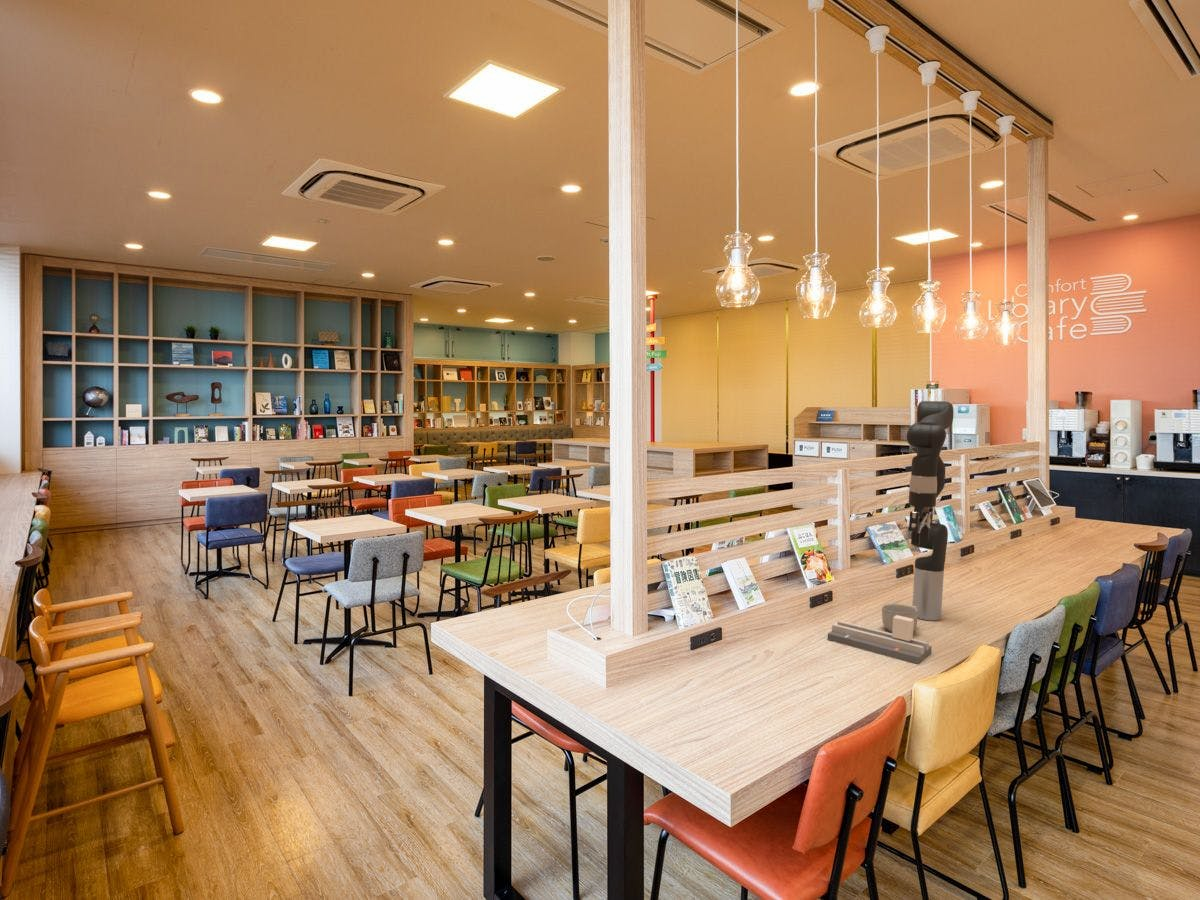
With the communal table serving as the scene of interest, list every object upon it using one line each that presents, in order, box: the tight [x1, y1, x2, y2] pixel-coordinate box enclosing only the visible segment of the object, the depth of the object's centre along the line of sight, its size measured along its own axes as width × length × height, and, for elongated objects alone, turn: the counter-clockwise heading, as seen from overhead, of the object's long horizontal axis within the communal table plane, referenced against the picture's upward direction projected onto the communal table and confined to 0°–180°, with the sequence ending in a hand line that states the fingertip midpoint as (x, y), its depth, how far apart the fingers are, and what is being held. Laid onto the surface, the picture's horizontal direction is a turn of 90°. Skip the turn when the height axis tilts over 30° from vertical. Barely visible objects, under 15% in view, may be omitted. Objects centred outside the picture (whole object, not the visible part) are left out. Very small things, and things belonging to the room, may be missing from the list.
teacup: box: [881, 603, 919, 633], centre depth 221 cm, size 14×11×8 cm
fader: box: [891, 615, 914, 643], centre depth 202 cm, size 3×5×8 cm, turn 47°
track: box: [827, 620, 932, 665], centre depth 207 cm, size 12×27×4 cm, turn 47°
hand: (919, 542), depth 206 cm, fingers open, 8 cm apart
